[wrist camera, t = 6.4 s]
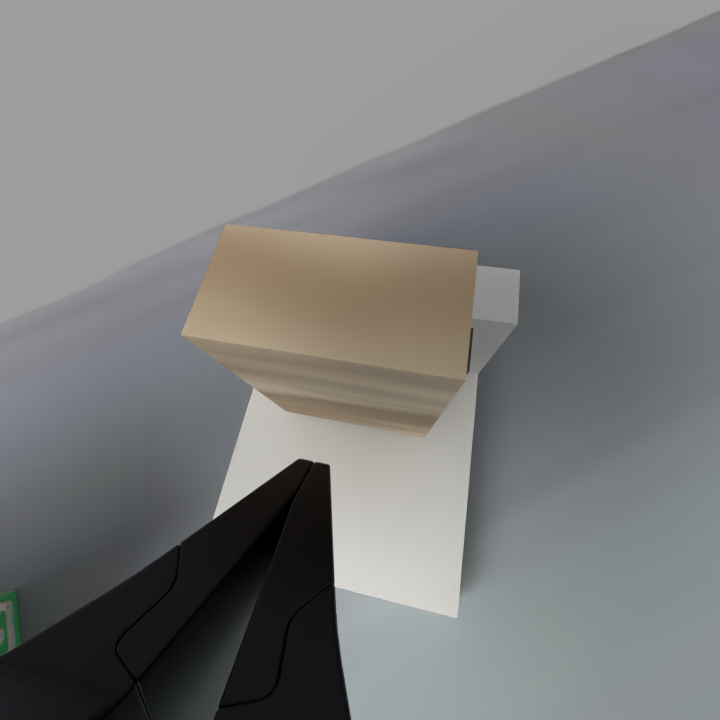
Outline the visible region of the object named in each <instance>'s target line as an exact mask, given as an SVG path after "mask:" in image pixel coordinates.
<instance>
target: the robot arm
mask: <svg viewBox="0 0 720 720" xmlns="http://www.w3.org/2000/svg"><path fill="white" fill-rule="evenodd" d="M334 585H335V577H334V551H333V525H332V500H331V474H330V465H329V464H325V463H321V462H315V463H314V462H313V461H311V460H306V459H297V460H296V461H294V462H293V463H292V464H290V465H289V466H287V467H286V468H285V469H283V470H282V471H280V472H279V473H278V474H276V475H275V476H273V477H272V478H271V479H269V480H268V481H266V482H265V483H264V484H262V485H261V486H259V487H258V488H257V489H255V490H254V491H252V492H251V493H250V494H248V495H247V496H245V497H244V498H243V499H241V500H240V501H238V502H237V503H236V504H234V505H233V506H231V507H230V508H229V509H227V510H226V511H224V512H223V513H222V514H220V515H219V516H217V517H216V518H215V519H213V520H212V521H210V522H209V523H208V524H206V525H205V526H203V527H202V528H201V529H199V530H198V531H196V532H195V533H194V534H192V535H191V536H189V537H188V538H187V539H185V540H184V541H182V542H181V544H180V545H177V546H175V547H174V548H172V549H171V550H170V551H168V552H167V553H165V554H164V555H163V556H161V557H160V558H158V559H157V560H155V561H154V562H152V563H151V564H149V565H148V566H147V567H145V568H144V569H142V570H141V571H139V572H138V573H136V574H135V575H133V576H132V577H130V578H129V579H127V580H125V581H124V582H122V583H121V584H119V585H117V586H116V587H114V588H113V589H111V590H109V591H108V592H106V593H105V594H103V595H101V596H100V597H98V598H97V599H95V600H93V601H92V602H90V603H88V604H87V605H85V606H83V607H82V608H80V609H78V610H77V611H75V612H73V613H72V614H70V615H69V616H67V617H65V618H64V619H62V620H60V621H59V622H57V623H55V624H54V625H52V626H50V627H49V628H47V629H45V630H44V631H42V632H40V633H39V634H37V635H36V636H34V637H32V638H31V639H29V640H27V641H26V642H24V643H22V644H21V645H19V646H17V647H15V648H14V649H12V650H10V651H8V652H6V653H4V654H3V655H1V656H0V720H351V715H350V709H349V703H348V697H347V691H346V685H345V679H344V673H343V667H342V660H341V652H340V645H339V638H338V628H337V615H336V597H335V586H334Z"/></svg>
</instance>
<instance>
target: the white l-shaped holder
mask: <svg viewBox="0 0 720 720" xmlns="http://www.w3.org/2000/svg"><path fill="white" fill-rule="evenodd" d="M519 287H520V270H515V269H506V268H497V267H488V266H479V265H477V271H476V281H475V291H474V302H473V312H472V322H471V328H474V329H473V339H472V350H471V360H470V371H469V373H468V374H467V375H466V381H465V382H464V384H463V385H462V386H461V388H460V389H459V391H458V392H457V393H456V395H455V396H454V397H453V399H452V400H451V402H450V403H449V404H448V406H447V407H446V408H445V410H444V411H443V413H442V414H441V415H440V417H439V418H438V420H437V421H436V422H435V424H434V425H433V426H432V428H431V429H430V431H429V432H428V433H427V435H426V436H425V437H421V436H416V435H410V434H405V433H400V432H394V431H389V430H383V429H378V428H373V427H367V426H362V425H357V424H351V423H346V422H340V421H335V420H330V419H324V418H319V417H314V416H308V415H303V414H297V413H292V412H287V411H285V410H284V409H282V408H281V407H279V406H278V405H277V404H275V403H274V402H273V401H271V400H270V399H268V398H267V397H266V396H264V395H263V394H262V393H260V392H259V391H257V390H256V389H255V388H253V391H252V395H251V398H250V401H249V404H248V407H247V411H246V414H245V417H244V420H243V423H242V427H241V430H240V433H239V436H238V439H237V443H236V446H235V449H234V452H233V456H232V459H231V462H230V465H229V468H228V472H227V475H226V478H225V481H224V484H223V488H222V491H221V494H220V497H219V500H218V504H217V507H216V510H215V513H214V517H213V519H215V518H216V517H217V516H219V515H220V514H222V513H223V512H224V511H226V510H227V509H229V508H230V507H231V506H233V505H234V504H236V503H237V502H238V501H240V500H241V499H243V498H244V497H245V496H247V495H248V494H250V493H251V492H252V491H254V490H255V489H257V488H258V487H259V486H261V485H262V484H264V483H265V482H266V481H268V480H269V479H271V478H272V477H273V476H275V475H276V474H278V473H279V472H280V471H282V470H283V469H285V468H286V467H287V466H289V465H290V464H292V463H293V462H294V461H296V460H297V459H306V460H311V461H313V462H314V463H315V462H321V463H325V464H329V465H330V474H331V500H332V525H333V551H334V577H335V585H334V586H335V587H338V588H342V589H345V590H349V591H353V592H357V593H361V594H365V595H369V596H373V597H376V598H380V599H384V600H388V601H392V602H396V603H400V604H404V605H407V606H411V607H415V608H419V609H423V610H427V611H431V612H435V613H438V614H442V615H446V616H450V617H454V618H457V617H458V606H459V594H460V582H461V570H462V559H463V547H464V535H465V523H466V512H467V500H468V488H469V476H470V465H471V453H472V441H473V429H474V418H475V406H476V394H477V382H478V374H479V373H480V371H481V370H482V369H483V367H484V366H485V365H486V364H487V362H488V361H489V360H490V359H491V357H492V356H493V355H494V354H495V352H496V351H497V350H498V349H499V347H500V346H501V345H502V344H503V342H504V341H505V340H506V338H507V337H508V336H509V335H510V333H511V332H512V331H513V330H514V328H515V327H516V326H517V325H518V308H519Z"/></svg>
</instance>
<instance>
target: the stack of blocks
mask: <svg viewBox="0 0 720 720" xmlns="http://www.w3.org/2000/svg"><path fill="white" fill-rule="evenodd" d="M19 645H21V639H20V628H19V618H18V608H17V595H16V590H13V591H8V592H5V593H1V594H0V656H1V655H3V654H4V653H6V652H8V651H10V650H12V649H14V648H15V647H17V646H19Z"/></svg>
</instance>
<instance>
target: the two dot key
mask: <svg viewBox="0 0 720 720" xmlns="http://www.w3.org/2000/svg"><path fill="white" fill-rule="evenodd" d="M477 260H478V251H475V250H465V249H456V248H446V247H437V246H427V245H418V244H409V243H399V242H390V241H380V240H371V239H362V238H352V237H343V236H333V235H324V234H314V233H305V232H296V231H286V230H277V229H267V228H258V227H249V226H239V225H230V224H226V225H225V227H224V230H223V232H222V235H221V237H220V240H219V242H218V244H217V247H216V249H215V252H214V254H213V257H212V259H211V262H210V264H209V267H208V269H207V271H206V274H205V276H204V279H203V281H202V284H201V286H200V289H199V291H198V294H197V296H196V298H195V301H194V303H193V306H192V308H191V311H190V313H189V316H188V318H187V321H186V323H185V326H184V328H183V330H182V333H181V335H182V336H183V337H184V338H186V339H187V340H189V341H190V342H191V343H193V344H194V345H195V346H197V347H198V348H200V349H201V350H202V351H204V352H205V353H206V354H208V355H209V356H211V357H212V358H213V359H215V360H216V361H217V362H219V363H220V364H222V365H223V366H224V367H226V368H227V369H228V370H230V371H231V372H233V373H234V374H235V375H237V376H238V377H240V378H241V379H242V380H244V381H245V382H246V383H248V384H249V385H251V386H252V387H253V388H255V389H256V390H257V391H259V392H260V393H262V394H263V395H264V396H266V397H267V398H268V399H270V400H271V401H273V402H274V403H275V404H277V405H278V406H279V407H281V408H282V409H284V410H285V411H287V412H292V413H297V414H303V415H308V416H314V417H319V418H324V419H330V420H335V421H340V422H346V423H351V424H357V425H362V426H367V427H373V428H378V429H383V430H389V431H394V432H400V433H405V434H410V435H416V436H421V437H425V436H426V435H427V433H428V432H429V431H430V429H431V428H432V426H433V425H434V424H435V422H436V421H437V420H438V418H439V417H440V415H441V414H442V413H443V411H444V410H445V408H446V407H447V406H448V404H449V403H450V402H451V400H452V399H453V397H454V396H455V395H456V393H457V392H458V391H459V389H460V388H461V386H462V385H463V384H464V382H465V381H466V375H467V374H468V373H469V371H470V360H471V350H472V339H473V329H474V328H471V322H472V312H473V302H474V291H475V281H476V271H477Z"/></svg>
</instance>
